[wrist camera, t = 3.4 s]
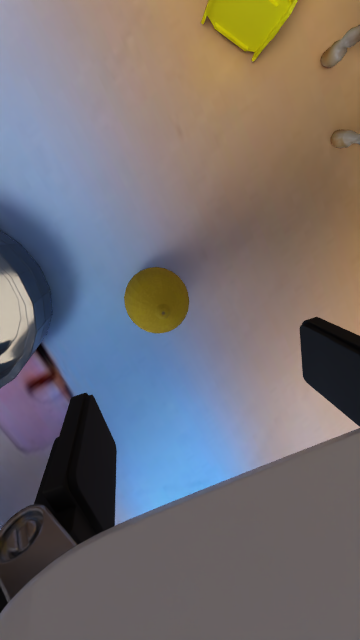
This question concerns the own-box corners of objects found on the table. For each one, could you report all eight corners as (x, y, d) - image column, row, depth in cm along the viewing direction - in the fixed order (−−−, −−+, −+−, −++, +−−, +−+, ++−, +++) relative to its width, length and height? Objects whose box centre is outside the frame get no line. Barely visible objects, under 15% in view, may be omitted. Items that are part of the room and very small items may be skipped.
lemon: (127, 258, 24) (129, 269, 17) (182, 267, 26) (206, 281, 18) (120, 312, 26) (121, 345, 19) (173, 318, 27) (192, 350, 20)
